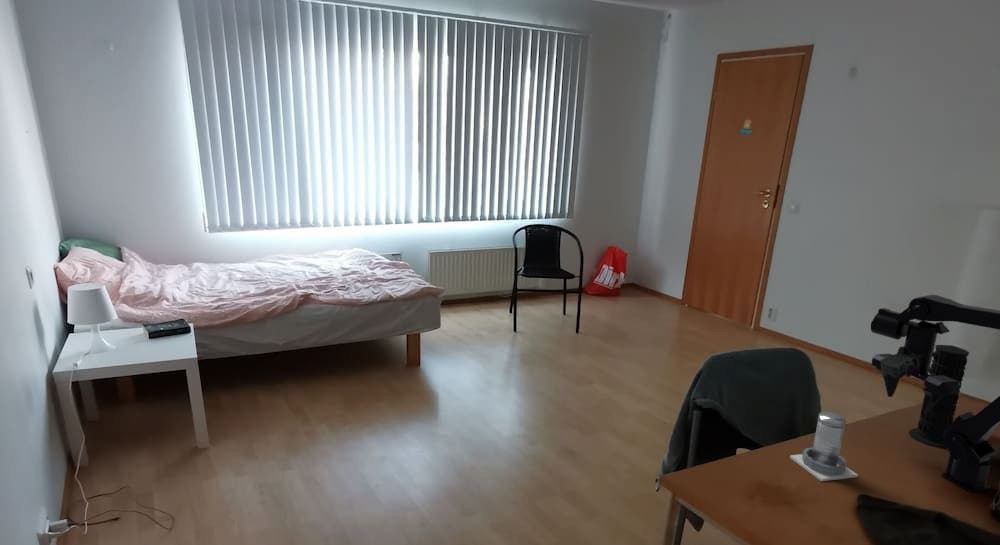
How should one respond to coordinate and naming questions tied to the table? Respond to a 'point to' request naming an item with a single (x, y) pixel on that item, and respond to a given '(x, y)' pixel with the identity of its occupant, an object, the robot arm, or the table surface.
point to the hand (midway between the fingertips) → (906, 404)
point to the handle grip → (941, 414)
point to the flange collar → (823, 467)
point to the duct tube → (828, 438)
